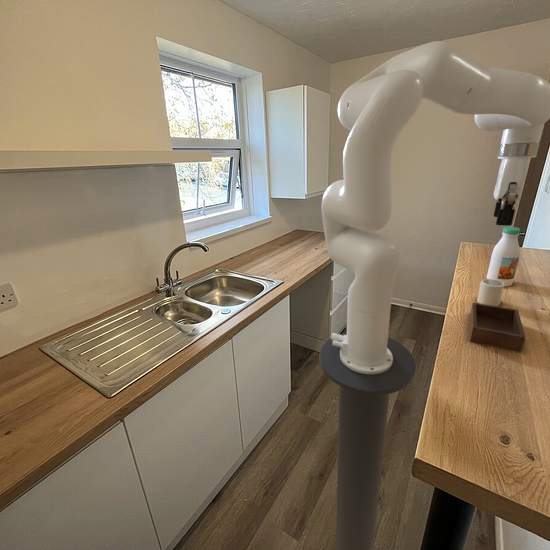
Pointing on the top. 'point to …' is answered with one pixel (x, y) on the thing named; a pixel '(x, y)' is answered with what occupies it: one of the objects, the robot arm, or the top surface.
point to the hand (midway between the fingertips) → (501, 220)
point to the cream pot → (490, 292)
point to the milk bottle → (505, 257)
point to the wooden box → (496, 327)
